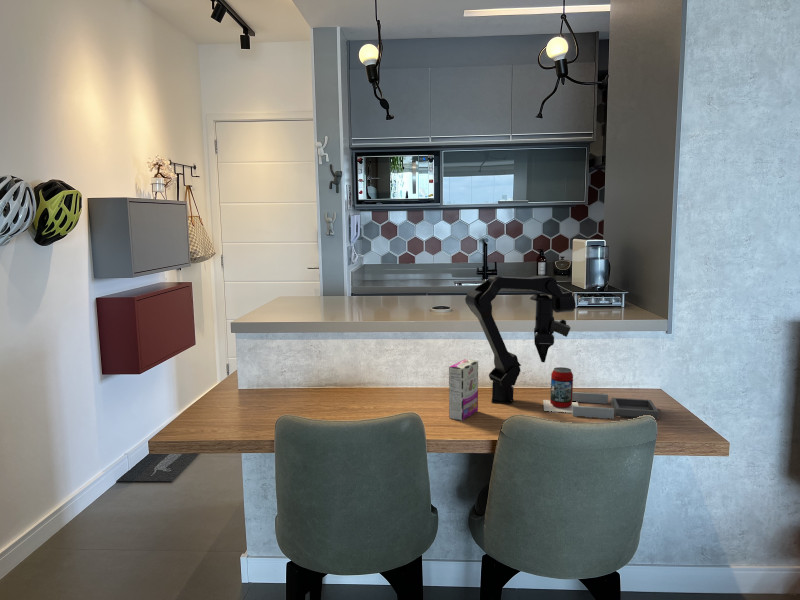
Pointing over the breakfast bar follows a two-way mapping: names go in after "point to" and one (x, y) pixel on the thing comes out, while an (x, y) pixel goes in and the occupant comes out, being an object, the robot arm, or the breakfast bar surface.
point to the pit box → (633, 407)
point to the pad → (550, 407)
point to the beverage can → (561, 387)
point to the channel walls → (592, 411)
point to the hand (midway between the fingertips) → (542, 358)
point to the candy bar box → (463, 389)
